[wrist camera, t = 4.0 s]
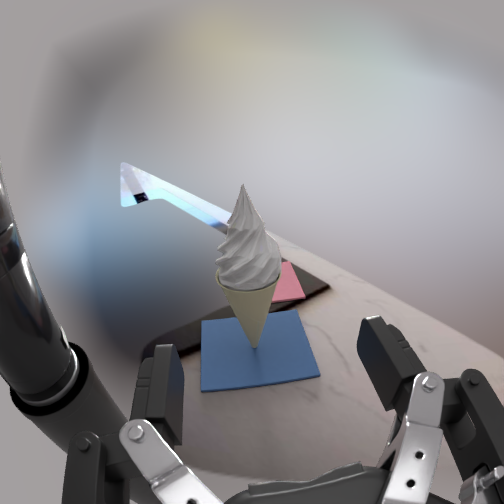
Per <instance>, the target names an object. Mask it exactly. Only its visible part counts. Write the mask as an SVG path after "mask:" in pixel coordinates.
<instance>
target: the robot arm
mask: <svg viewBox="0 0 504 504" xmlns="http://www.w3.org/2000/svg"><path fill="white" fill-rule="evenodd" d="M61 330H62V331H61ZM61 330H60V328H59V326H58V324H57V322H56V320H55V318H54V316H53V314H52V312H51V310H50V308H49V306H48V304H47V302H46V299H45V297H44V295H43V293H42V291H41V289H40V286H39V284H38V282H37V279H36V277H35V274H34V272H33V270H32V267H31V264H30V262H29V259H28V257H27V254H26V251H25V249H24V246H23V243H22V241H21V237H20V235H19V232H18V228H17V225H16V222H15V220H14V215H13V213H12V209H11V205H10V202H9V198H8V194H7V189H6V186H5V180H4V176H3V171H2V166H1V160H0V375H1V376H2V377H3V379H4V380H5V381H6V383H7V384H8V385H9V386H10V388H11V389H12V390H13V391H16V393H17V394H18V396H19V397H20V398H21V399H22V400H23V401H24V402H25V403H27V404H29V405H31V406H37V407H41V406H47V405H50V404H53V403H55V402H57V401H58V400H60V399H61V398H63V397H64V396H65V395H66V394H67V393H68V392H69V391H70V390H71V388H72V387H73V385H74V384H75V382H76V380H77V377H78V374H79V361H78V358H77V357H76V355H75V353H74V351H73V350H72V349H71V348H70V346H69V344H68V342H67V339H66V335H65V333H64V331H63V329H62V328H61ZM357 352H358V355H359V357H360V359H361V361H362V363H363V365H364V367H365V369H366V371H367V373H368V375H369V377H370V379H371V381H372V383H373V386H374V388H375V390H376V392H377V394H378V396H379V398H380V400H381V402H382V404H383V406H384V408H385V411H389V410H392V409H395V411H396V415H395V418H394V421H393V424H392V428H391V431H390V434H389V437H388V440H387V443H386V446H385V449H384V451H383V454H382V456H381V457H380V459H379V461H378V463H377V466H376V467H369V466H362V464H361V462H360V461H359V462H356V463H352V464H349V465H346V466H342V467H338V468H335V469H333V470H331V471H329V472H327V473H325V474H323V475H321V476H318V477H316V478H314V479H312V480H310V481H278V480H277V481H270V482H262V483H254V484H248V487H249V489H248V490H245V491H242V492H240V493H238V494H236V495H235V496H233V497H231V498H230V499H228V500H227V501H226V502H225V503H223V502H222V501H221V500H219V499H218V498H217V497H216V496H215V495H214V494H213V493H212V492H211V491H210V490H209V489H208V488H207V487H206V486H205V485H204V484H203V483H202V482H201V481H200V480H199V479H198V478H197V477H196V475H195V474H194V473H193V472H192V471H191V470H190V469H189V468H188V467H187V466H186V465H185V464H184V463H183V462H182V461H181V460H180V459H179V458H178V456H177V455H176V454H175V453H174V445H182V422H183V396H184V372H183V367H182V364H181V362H180V359H179V356H178V353H177V350H176V347H175V345H174V344H168V345H156V347H155V352H154V358H146V359H145V360H144V361H143V363H142V364H141V366H140V367H139V372H138V380H137V382H136V388H135V393H134V399H133V404H132V411H131V416H130V420H129V422H127V423H126V424H125V425H123V427H122V428H121V430H120V431H118V432H116V433H112V434H108V435H103V436H99V437H98V436H97V435H96V434H94V433H93V432H90V431H81V432H78V433H77V434H75V435H74V436H73V437H72V439H71V441H70V444H69V449H68V455H67V462H66V469H65V476H64V484H63V494H62V504H129V500H130V478H134V477H139V476H144V477H145V478H146V480H147V481H148V483H149V486H150V488H151V489H152V491H153V492H154V493H155V495H156V496H157V497H158V498H159V500H160V501H161V502H162V503H163V504H454V503H452V502H450V501H448V500H445V499H443V498H441V497H439V496H437V495H434V494H432V493H430V492H429V491H430V488H431V484H432V480H433V477H434V473H435V469H436V465H437V461H438V457H439V452H440V447H441V442H442V437H443V434H444V437H445V439H446V441H447V443H448V446H449V448H450V450H451V453H452V455H453V457H454V460H455V462H456V465H457V467H458V469H459V472H460V475H461V477H462V480H463V484H462V486H461V490H460V494H459V499H460V501H461V504H504V407H503V406H502V404H501V402H500V401H499V399H498V397H497V396H496V394H495V392H494V391H493V389H492V387H491V386H490V384H489V383H488V381H487V379H486V378H485V376H484V375H483V374H482V373H481V372H480V371H478V370H476V369H467V370H465V371H464V372H463V373H462V374H461V376H460V377H459V378H452V379H442V378H441V377H440V376H439V375H437V374H436V373H433V372H427V370H426V369H425V367H424V366H423V364H422V363H421V361H420V360H419V358H418V357H417V355H416V354H415V352H414V351H413V349H412V348H411V347H410V345H409V343H408V342H407V340H405V337H404V336H403V334H402V333H401V331H400V330H398V329H397V328H396V327H394V326H393V325H391V324H389V325H386V323H385V322H384V320H383V319H382V317H381V316H379V315H377V316H373V317H368V318H364V319H363V320H362V322H361V327H360V331H359V336H358V340H357ZM467 412H468V414H469V416H470V417H469V416H468V414H467ZM470 418H471V419H470ZM471 420H472V421H471ZM472 422H473V423H472ZM473 424H474V425H473ZM474 426H475V427H474Z"/></svg>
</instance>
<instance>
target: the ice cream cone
mask: <svg viewBox="0 0 504 504" xmlns="http://www.w3.org/2000/svg"><path fill="white" fill-rule="evenodd" d="M227 223H228V224H229V227H228V231H227V235H226V237H225V240H226V242H224V243H223V244H221V245H220V246H218V251H220V252H222V253H223V256H222V257H221V258H218V259H217V260H216V262H215V263H216V265H219V266H220V268H219V269H218V271H217V272H216V281H217V282H218V284H219V285H220V286H221V287H222V289H223V291H224V293H225V295H226V297H227V299H228V302H229V304H230V306H231V307H232V309H233V311H234V313H235V315H236V317H237V319H238V321H239V323H240V325H241V327H242V329H243V331H244V333H245V334H246V336H247V338H248V340H249V342H250V344H251V346H252V347H253V348H256V347H257V346H258V343H259V339H260V336H261V333H262V330H263V327H264V324H265V321H266V318H267V315H268V311H269V308H270V305H271V302H272V298H273V295H274V292H275V289H276V285H277V282H278V281H279V279H280V278H281V274H282V271H281V269H282V267H281V253H280V250H279V247H278V244H277V241H276V240H275V239H274V238H272V237H271V236H270V235H269V234H268V233H267V232H266V231H265V228H264V222H263V220H262V218H261V217H260V216H259V214H258V213H257V211H256V210H255V208H254V206H253V204H252V202H251V200H250V198H249V196H248V194H247V192H246V190H245V188H244V185H242V186H241V191H240V194H239V197H238V200H237V203H236V206H235V209H234V212H233V214H232V215H231V217H230V219H229V220H228V222H227Z"/></svg>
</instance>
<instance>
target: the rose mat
mask: <svg viewBox="0 0 504 504" xmlns="http://www.w3.org/2000/svg"><path fill="white" fill-rule="evenodd" d="M281 267H282V269H281V271H282V274H281V278H280V279H279V281H278V282H277V285H276V289H275V292H274V295H273V298H272V302H271V303H276V302H283V301H291V300H298V299H305V295H304V292H303V290H302V288H301V286H300V283H299V281H298V279H297V277H296V274H295V272H294V270H293V268H292V266H291V263H290V262H281Z"/></svg>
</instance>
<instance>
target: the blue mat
mask: <svg viewBox="0 0 504 504" xmlns="http://www.w3.org/2000/svg"><path fill="white" fill-rule="evenodd" d="M319 376H320V372H319V369H318V366H317V364H316V361H315V358H314V355H313V353H312V350H311V347H310V344H309V342H308V339H307V336H306V334H305V331H304V328H303V326H302V323H301V320H300V318H299V315H298V312H297V310H290V311H283V312H276V313H268V315H267V318H266V321H265V324H264V327H263V330H262V333H261V336H260V339H259V343H258V346H257V347H256V348H253V347H252V346H251V344H250V342H249V340H248V338H247V336H246V334H245V333H244V331H243V329H242V327H241V325H240V323H239V321H238V319H237V317H235V318H226V319H217V320H207V321H202V332H201V392H211V391H223V390H233V389H242V388H251V387H258V386H266V385H273V384H279V383H286V382H292V381H298V380H303V379H308V378H314V377H319Z"/></svg>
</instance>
